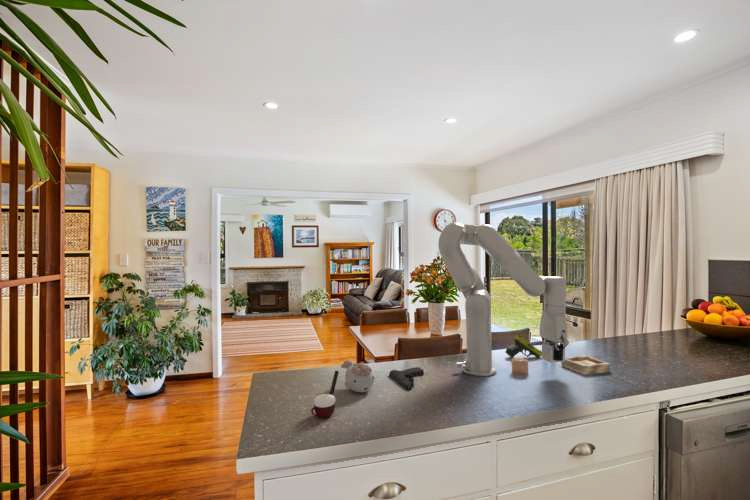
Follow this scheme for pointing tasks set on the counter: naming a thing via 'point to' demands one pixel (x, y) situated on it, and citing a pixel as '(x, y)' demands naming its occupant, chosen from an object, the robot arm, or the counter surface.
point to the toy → (358, 376)
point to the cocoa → (325, 402)
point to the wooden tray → (586, 365)
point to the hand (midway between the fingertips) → (553, 357)
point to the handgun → (406, 376)
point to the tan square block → (520, 366)
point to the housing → (550, 351)
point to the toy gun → (522, 348)
